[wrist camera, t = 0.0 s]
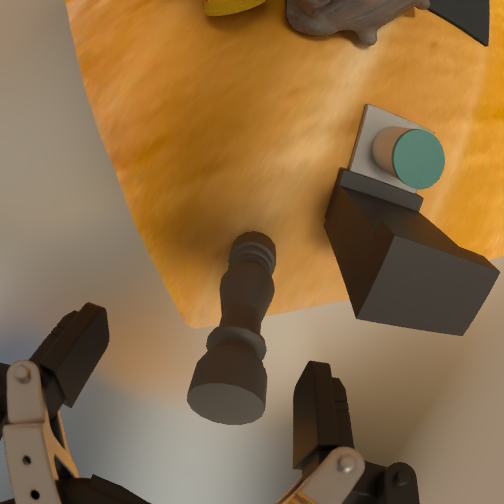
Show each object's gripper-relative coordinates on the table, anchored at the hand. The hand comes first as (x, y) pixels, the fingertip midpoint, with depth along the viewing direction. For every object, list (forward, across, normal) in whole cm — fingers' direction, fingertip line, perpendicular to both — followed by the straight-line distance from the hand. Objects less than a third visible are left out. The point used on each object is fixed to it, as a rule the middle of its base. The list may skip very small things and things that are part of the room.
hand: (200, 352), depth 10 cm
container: (+28, -16, -9) cm, 34 cm away
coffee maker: (+29, -16, -6) cm, 34 cm away
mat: (+29, -21, -39) cm, 53 cm away
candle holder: (+30, -2, +10) cm, 31 cm away
